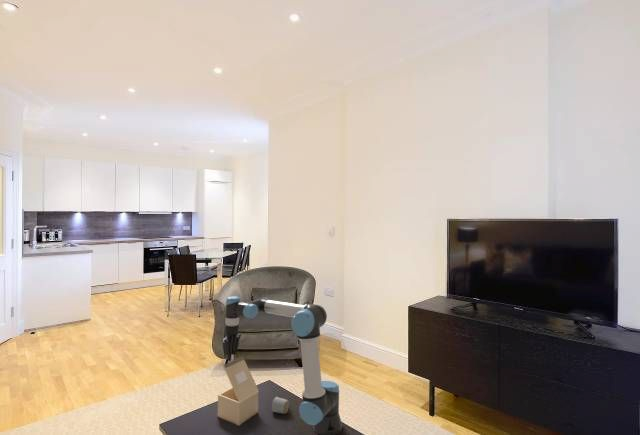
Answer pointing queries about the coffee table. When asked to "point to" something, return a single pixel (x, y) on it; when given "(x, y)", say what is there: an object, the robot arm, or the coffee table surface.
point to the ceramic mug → (280, 405)
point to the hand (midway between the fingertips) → (230, 365)
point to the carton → (236, 407)
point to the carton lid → (240, 379)
